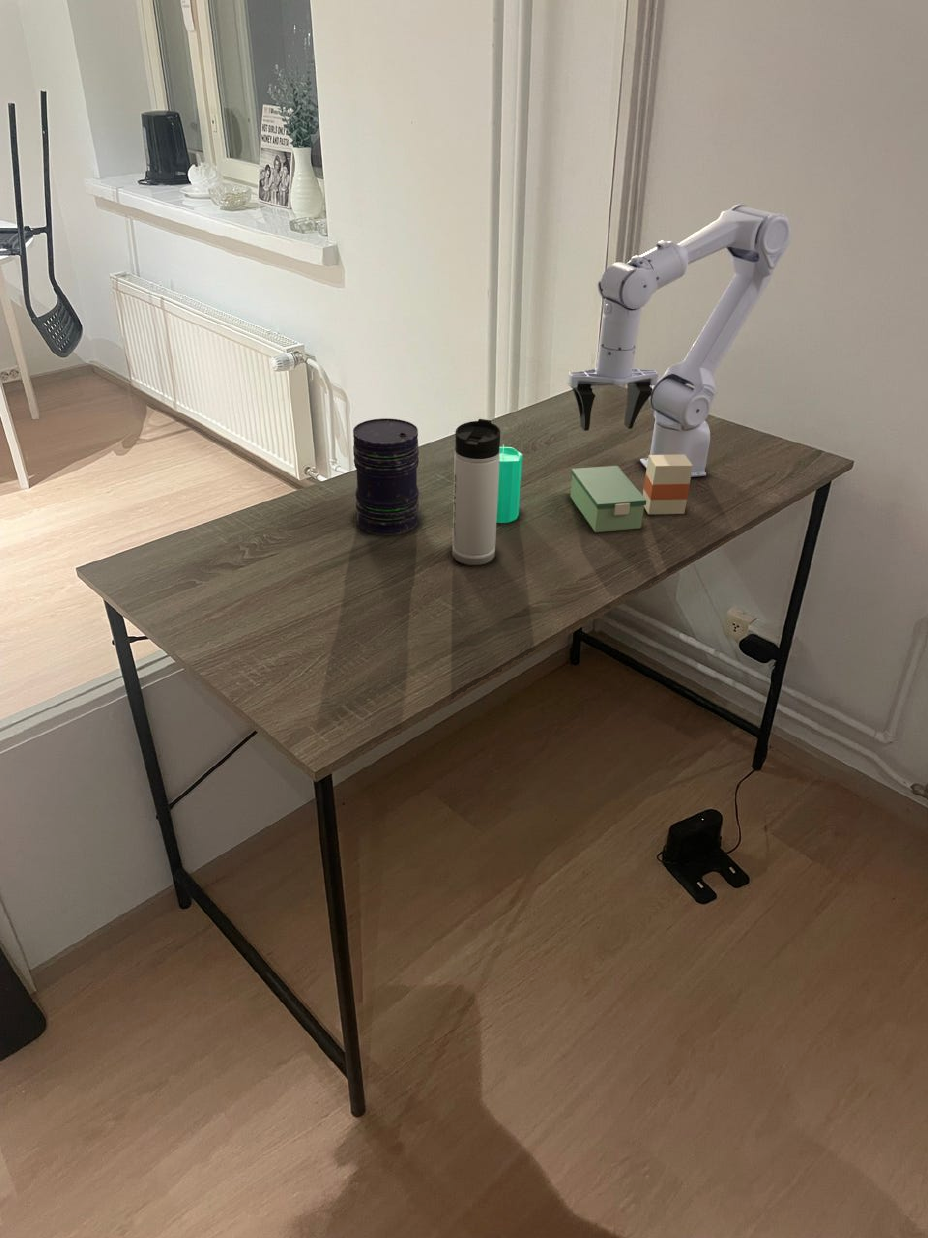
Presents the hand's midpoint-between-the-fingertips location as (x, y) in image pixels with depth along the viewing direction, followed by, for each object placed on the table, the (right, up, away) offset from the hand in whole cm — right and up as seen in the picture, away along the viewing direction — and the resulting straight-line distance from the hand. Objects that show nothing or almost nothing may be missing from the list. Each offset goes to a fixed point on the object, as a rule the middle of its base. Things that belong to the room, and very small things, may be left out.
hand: (606, 427), depth 150 cm
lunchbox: (-1, -14, -3) cm, 15 cm away
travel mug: (-22, -22, -15) cm, 35 cm away
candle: (-18, -15, -4) cm, 24 cm away
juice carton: (+9, -13, -1) cm, 16 cm away
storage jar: (-36, -16, -7) cm, 40 cm away
